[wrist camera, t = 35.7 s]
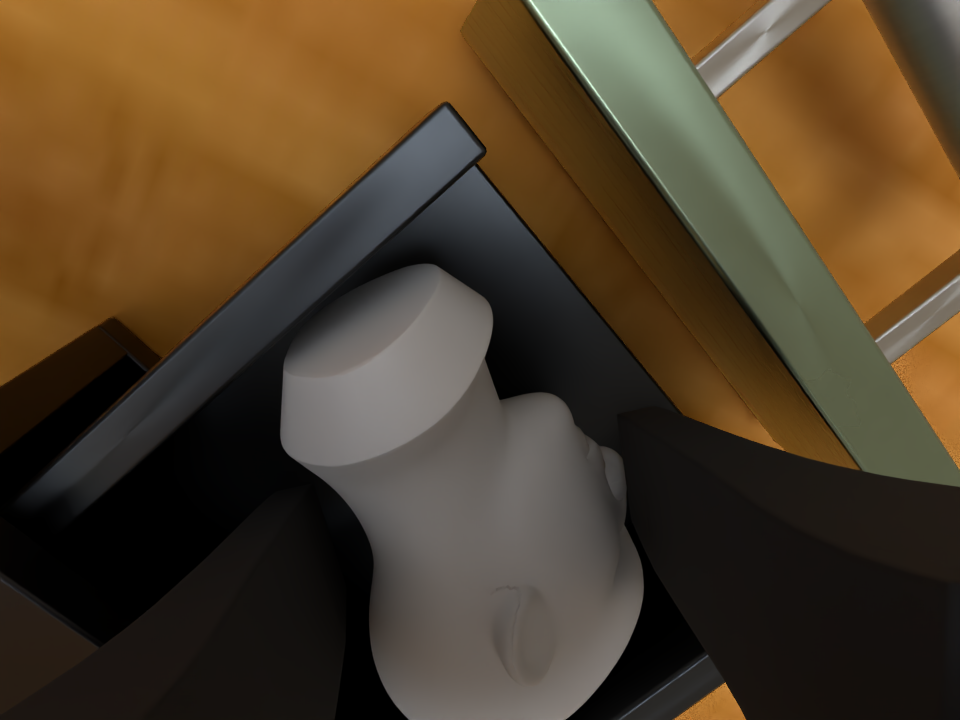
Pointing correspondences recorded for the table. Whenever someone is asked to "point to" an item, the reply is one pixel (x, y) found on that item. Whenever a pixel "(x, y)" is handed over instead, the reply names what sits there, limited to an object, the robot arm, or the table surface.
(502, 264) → the drawer
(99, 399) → the black box
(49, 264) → the table surface
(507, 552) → the pale two-lobed sculpture
